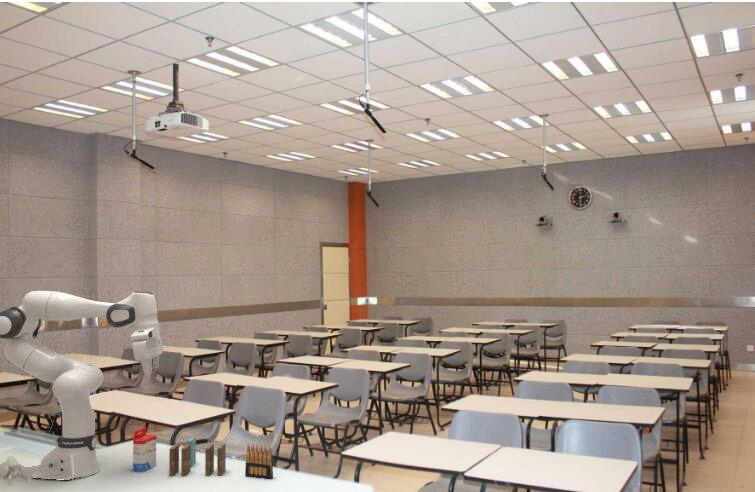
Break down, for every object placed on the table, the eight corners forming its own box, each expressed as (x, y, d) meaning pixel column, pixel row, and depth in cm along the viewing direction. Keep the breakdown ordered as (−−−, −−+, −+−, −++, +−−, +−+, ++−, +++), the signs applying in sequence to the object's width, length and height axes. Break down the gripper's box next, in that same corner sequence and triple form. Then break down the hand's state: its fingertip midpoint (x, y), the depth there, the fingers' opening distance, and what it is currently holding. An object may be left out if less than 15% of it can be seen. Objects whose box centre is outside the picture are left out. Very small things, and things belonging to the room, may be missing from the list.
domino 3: (187, 467, 241) (187, 441, 242) (191, 462, 247) (191, 437, 248) (191, 467, 241) (191, 441, 242) (195, 462, 247) (195, 437, 248)
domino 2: (181, 476, 231) (181, 448, 232) (186, 471, 237) (186, 444, 238) (185, 476, 231) (185, 448, 232) (190, 471, 237) (190, 444, 238)
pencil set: (244, 476, 230) (244, 443, 231) (247, 475, 232) (247, 442, 233) (270, 479, 227) (270, 446, 227) (273, 478, 228) (273, 444, 229)
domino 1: (169, 476, 231) (169, 448, 232) (174, 471, 237) (174, 444, 238) (173, 476, 231) (173, 448, 232) (178, 471, 237) (178, 444, 238)
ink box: (144, 472, 237) (144, 432, 237) (132, 471, 238) (132, 432, 238) (156, 465, 245) (156, 427, 246) (145, 464, 246) (145, 426, 247)
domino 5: (217, 475, 231) (217, 448, 232) (221, 470, 237) (221, 443, 238) (221, 475, 231) (221, 448, 232) (225, 470, 237) (225, 443, 238)
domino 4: (205, 476, 231) (205, 448, 232) (209, 470, 237) (209, 444, 238) (209, 476, 231) (209, 448, 232) (213, 470, 237) (213, 443, 238)
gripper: (149, 331, 250) (153, 366, 249) (128, 336, 229) (132, 374, 229) (165, 329, 250) (168, 364, 249) (145, 334, 229) (149, 372, 229)
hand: (151, 369), depth 239 cm, fingers open, 8 cm apart
